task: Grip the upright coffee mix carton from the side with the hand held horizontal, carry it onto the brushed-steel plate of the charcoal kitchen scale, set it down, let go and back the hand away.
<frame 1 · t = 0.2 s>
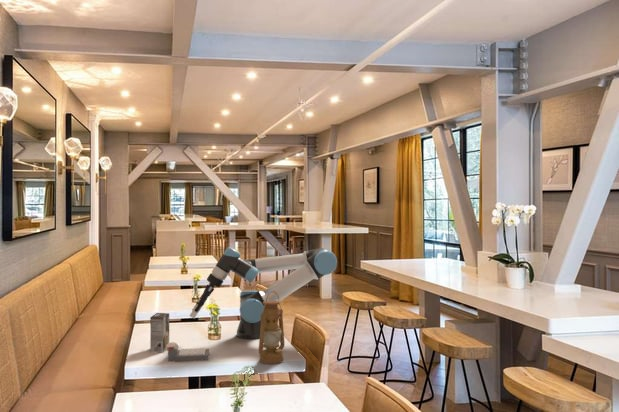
hand: (192, 314, 243), 15 cm above the table, tool tilted 35°, fingers open, 13 cm apart
scale plate: (192, 352, 222), point 2 cm above the table
coffee box: (159, 349, 235), on the table
lantern: (271, 361, 218), on the table
scale: (192, 357, 222), on the table
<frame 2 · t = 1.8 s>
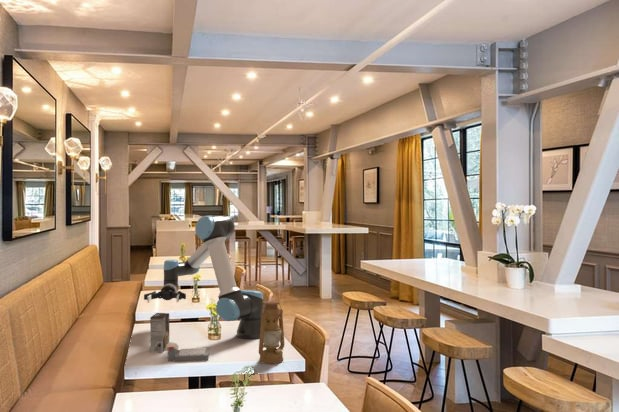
hand: (162, 299, 244), 21 cm above the table, tool horizontal, fingers open, 13 cm apart
nothing on the table moved.
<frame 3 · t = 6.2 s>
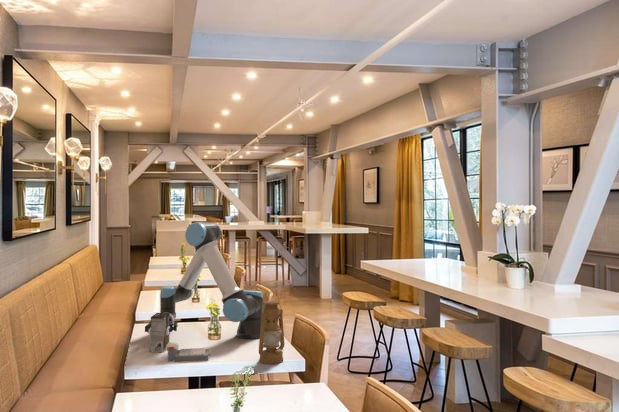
hand: (158, 332, 230), 9 cm above the table, tool horizontal, fingers closed on coffee box, 7 cm apart
coffee box: (160, 349, 235), on the table, touching gripper
everything else where it was.
when the fingers open (13 cm above the table, at t = 10.4 s): coffee box drops 2 cm, resting on scale plate.
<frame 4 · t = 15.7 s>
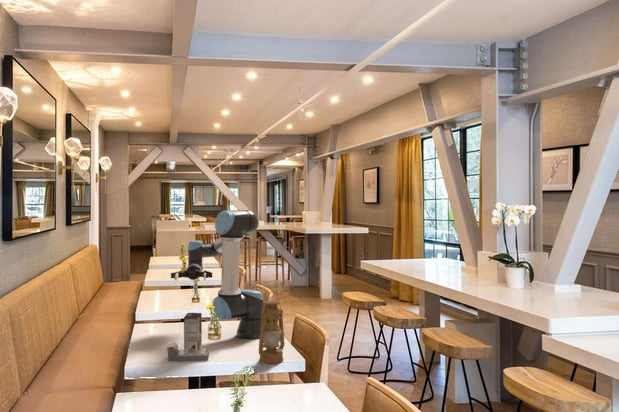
hand: (190, 277, 245), 32 cm above the table, tool horizontal, fingers open, 13 cm apart
coffee box: (192, 351, 222), point 3 cm above the table, touching scale plate
everything else where it was.
at the end: coffee box inside the target area on the scale plate (0.1 cm from its centre), point 2.6 cm above the scale plate's base; coffee box tilted 0°; the gripper is holding nothing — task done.
